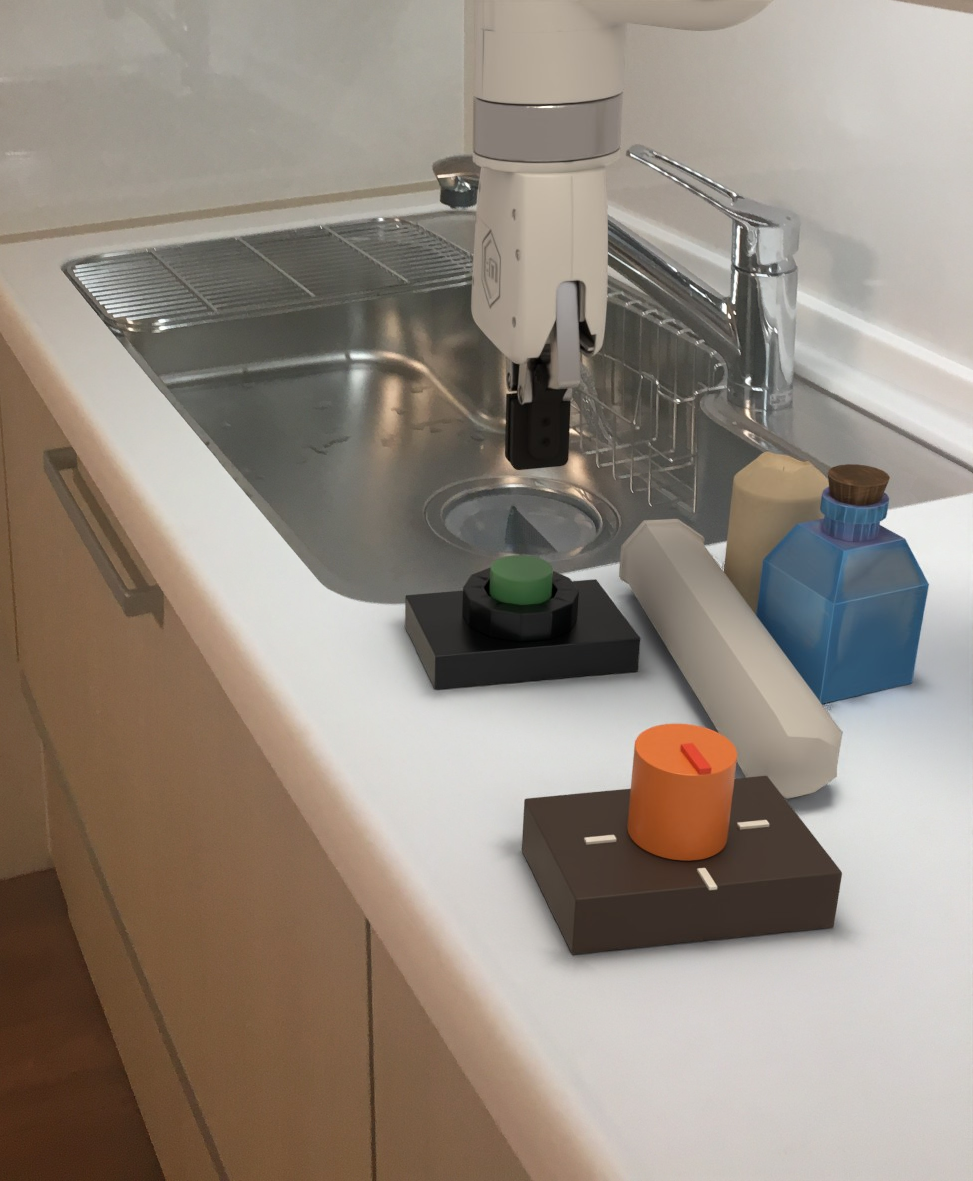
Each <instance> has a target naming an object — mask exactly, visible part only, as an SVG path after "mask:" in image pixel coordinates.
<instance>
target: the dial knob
mask: <svg viewBox="0 0 973 1181" xmlns="http://www.w3.org/2000/svg"><path fill="white" fill-rule="evenodd" d="M633 746H634V749H633V757H632V769H631V770H632V771H631V781H630V789H631V792H630V803H629V815H628V826H627V827H628V833H629V835H630V837H631V839H632V840H633V841H634V842H635V843H636V844H637V845H638V846H639V847H641V848H642V849H644V850H646V851H647V852H649V853H652V854H654V855H657V856H660V857H663V858H667V859H673V860H681V861H692V860H700V859H705V858H708V857H711V856H713V855H715V854H717V853H719V852H720V851H721V850H722V849H723V848H724V846H725V845H726V843H727V837H728V829H729V821H730V812H731V804H732V796H733V788H734V779H736V770H737V764H738V763H737V750H736V748H735V746H734V745H733V743H732V742H731V741H730V740H729V739H727V738H726V737H725V736H723V735H721V734H720V733H719V732H718V731H715V730H713V729H711V728H708V727H705V726H700V725H695V724H688V723H664V724H663V723H662V724H658V725H654V726H651V727H649V728H647V729H645V730H643V731H642V732H640V733H639V734H638V735H637V737H636V739H635V741H634V745H633Z"/></svg>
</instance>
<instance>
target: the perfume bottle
mask: <svg viewBox="0 0 973 1181" xmlns="http://www.w3.org/2000/svg"><path fill="white" fill-rule="evenodd" d="M890 478H891V477H890V475H889V474H888V473H887V472H886V471H884V470H882V469H880V468H877V467H874V466H871V465H865V464H859V463H858V464H856V463H853V464H852V463H847V464H839V465H835V466H832V467H831V468H829V469H828V471H827V480H828V481H829V487H827V488H825V489H824V490H823V492H822V497H821V505H820V510H821V512H822V514H824V515H825V516H824V518H823V519H818V520H813V521H808V522H803V523H798V524H796V525H795V526H794V527H793V528H792V529H791V531H790V532H789V533H788V534H787V535H786V536H785V537H784V538H783V539H782V540H781V541H780V542H779V543H778V544H777V545H776V546H775V548H774V549H773V550H772V551H771V552H770V553H769V554H768V555H767V556H766V557H765V558H764V559H763V564H762V573H761V581H760V589H759V597H758V605H757V613H756V616H757V617H758V619H759V620H760V621H761V623H762V624H763V625H764V627H765V628H766V630H767V631H768V632H769V634H770V635H771V636H772V638H773V639H774V640H775V642H776V643H777V644H778V646H779V647H780V648H781V650H782V651H783V652H784V654H785V655H786V657H787V658H788V659H789V661H790V662H791V663H792V665H793V666H794V667H795V669H796V670H797V671H798V673H799V674H800V675H801V677H802V678H803V679H804V681H805V682H806V683H807V685H808V686H809V688H810V689H811V690H812V692H813V693H814V694H815V696H816V697H817V698H818V700H819V701H820V702H821V704H822V705H823V704H828V703H832V702H837V701H841V700H845V699H850V698H853V697H858V696H862V695H867V694H870V693H871V694H872V693H875V692H880V691H884V690H887V689H888V690H889V689H892V688H898V687H901V686H905V685H909V684H912V683H913V681H914V680H913V679H914V673H915V667H916V661H917V656H918V650H919V645H920V638H921V632H922V627H923V621H924V617H925V616H924V615H925V610H926V604H927V599H928V593H929V586H930V583H929V581H928V579H927V577H926V575H925V574H924V572H923V569H922V568H921V566H920V564H919V562H918V560H917V558H916V556H915V555H914V553H913V551H912V549H911V547H910V545H909V543H908V540H907V539H906V538H905V537H903V536H901V535H900V534H897V533H896V532H895V531H892V530H890V529H889V528H886V527H885V526H883V525H881V522H883V521H884V520H885V519H887V515H888V510H889V505H890V497H889V495H888V494H887V493H886V488H887V487H888V484H889V481H890Z"/></svg>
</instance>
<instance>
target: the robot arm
mask: <svg viewBox="0 0 973 1181" xmlns="http://www.w3.org/2000/svg"><path fill="white" fill-rule="evenodd" d="M773 1H774V0H474V9H473V10H474V12H473V13H474V14H473V23H474V24H473V30H474V31H473V33H474V35H473V83H472V84H473V86H472V87H473V92H472V93H473V94H472V95H473V97H472V163H473V164H475V166H478V167H480V171H479V180H478V187H477V199H476V211H475V222H474V223H475V226H474V240H473V242H474V243H473V259H472V276H471V278H472V279H471V294H470V295H471V296H470V297H471V298H470V310H471V316H472V319H473V321H474V323H475V324H476V325H477V327H478V328H479V330H481V332H482V333H483V334H484V335H485V336H486V337H487V338H488V340H489V341H490V342H491V343H492V344H493V345H494V346H495V347H496V348H497V349H498V350H499V351H500V352H501V353H502V354H503V355H504V356H505V384H506V389H507V391H508V392H509V393H505V430H504V431H505V434H504V436H505V437H504V438H505V439H504V457H505V459H506V461H508V462H509V464H510V465H511V466H512V468H513V469H514V470H515V471H524V470H536V469H545V468H556V467H563V466H566V465H567V463H568V462H569V455H570V454H569V453H570V452H569V451H570V430H571V429H570V427H571V405H572V403H571V402H572V398H573V393H574V389H577V388H580V386H581V381H582V378H581V376H582V374H581V372H582V371H581V354H582V355H583V356H584V357H586V358H594V356H595V355H597V354H598V353H599V352H600V350H601V349H602V348H603V344H604V339H605V332H606V331H605V330H606V320H607V310H608V309H607V308H608V307H607V306H608V305H607V304H608V282H609V281H608V280H609V279H608V278H609V277H608V276H609V271H608V270H609V221H608V220H609V215H608V213H609V212H608V209H609V206H608V188H607V187H608V186H607V168H606V167H608V166H611V165H613V164H615V163H616V162H618V161H620V158H621V142H622V124H623V122H622V121H623V104H624V103H623V102H624V90H625V89H624V88H625V86H624V85H625V68H626V48H627V44H626V43H627V26H628V25H627V24H633V25H641V26H649V27H650V26H651V27H658V28H665V29H674V30H682V31H692V32H693V31H694V32H709V31H720V30H724V29H728V28H731V27H735V26H738V25H740V24H742V23H745V22H747V21H749V20H750V19H752V18H754V17H756V16H758V15H759V14H760V13H761V12H762V11H764V10H765V9H766V8H767V7H769V5H770V4H771V3H772V2H773ZM512 392H513V393H512Z"/></svg>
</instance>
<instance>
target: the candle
mask: <svg viewBox="0 0 973 1181" xmlns="http://www.w3.org/2000/svg"><path fill="white" fill-rule="evenodd" d="M732 481H733V482H732V490H731V491H732V492H731V500H730V509H729V517H728V527H727V536H726V545H725V546H726V547H725V555H724V564H723V571H724V573H725V574H726V576H727V577H728V578H729V580H730V581H731V582H732V584H733V585H734V586H735V588H736V589H737V590H738V592H739V593H740V594H741V596H742V597H743V598H744V600H745V601H746V603H747V604H748V605H749V607H750V608H751V609H752V611H753V612H754V613H755V615H756V613H757V605H758V597H759V589H760V581H761V573H762V564H763V559H764V558H765V557H766V556H767V555H768V554H769V553H770V552H771V551H772V550H773V549H774V548H775V546H776V545H777V544H778V543H779V542H780V541H781V540H782V539H783V538H784V537H785V536H786V535H787V534H788V533H789V532H790V531H791V529H792V528H793V527H794V526H795V525H796V524H798V523H803V522H808V521H813V520H818V519H823V518H824V516H825V515H824V514H822V512H821V510H820V505H821V497H822V492H823V490H824V489H825V488H827V487H829V481H828V477H826V476H825V475H824V473H822V471H821V470H819V469H818V468H817V467H815V465H814V464H813V463H812V462H810V461H809V460H806V461H802V460H799V459H797V458H794V457H792V456H790V455H787V454H779V453H774V452H772V451H764V452H762V453H760V454H759V455H758V456H757V457H756V458H755V459H753V460H752V461H751V462H750V463H748V464H747V465H746V466H745V467H743V468H742V469H741V470H739V471H737V473H736V474H735V475H734V476H733V480H732Z"/></svg>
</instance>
